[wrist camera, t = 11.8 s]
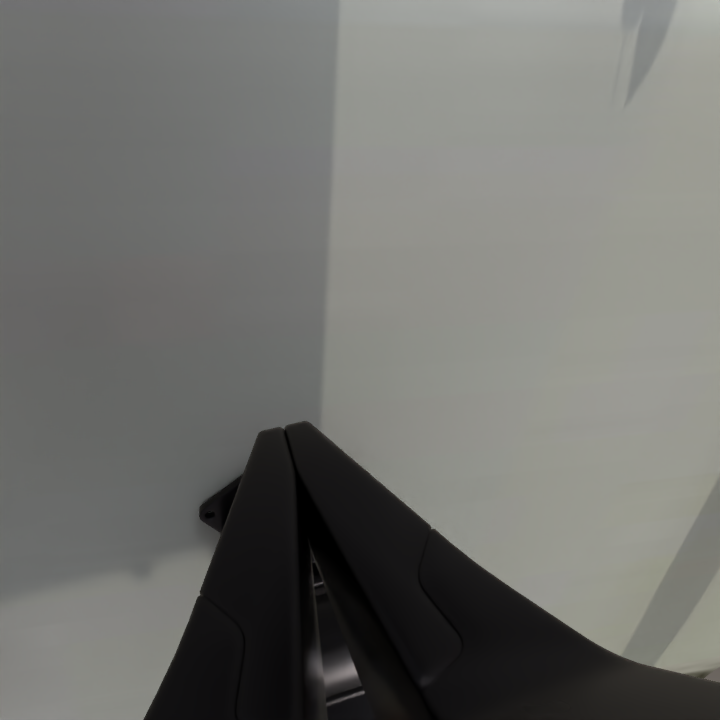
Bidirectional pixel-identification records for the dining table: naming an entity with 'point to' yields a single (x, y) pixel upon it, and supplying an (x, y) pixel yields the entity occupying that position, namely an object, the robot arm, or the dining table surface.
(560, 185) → the dining table surface
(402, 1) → the dining table surface
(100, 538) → the dining table surface
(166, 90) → the dining table surface
